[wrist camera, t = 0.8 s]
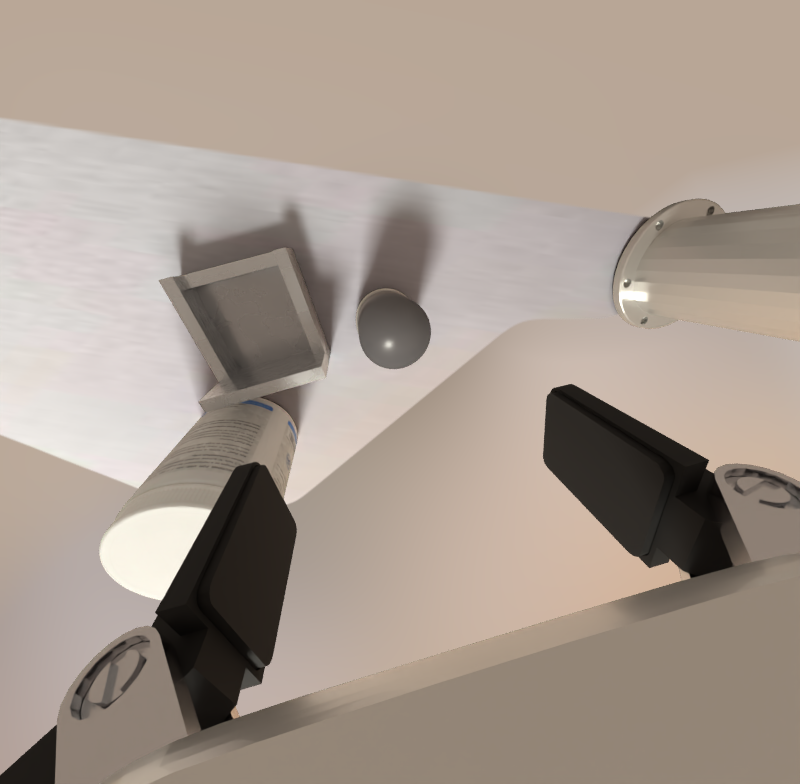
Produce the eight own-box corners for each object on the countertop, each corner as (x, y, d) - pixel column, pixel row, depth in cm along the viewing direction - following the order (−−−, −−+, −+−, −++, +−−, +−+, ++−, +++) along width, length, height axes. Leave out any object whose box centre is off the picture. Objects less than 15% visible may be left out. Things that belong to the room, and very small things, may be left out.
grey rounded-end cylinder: (406, 280, 27) (424, 286, 21) (418, 338, 29) (437, 359, 23) (347, 296, 27) (347, 307, 20) (365, 353, 29) (370, 378, 23)
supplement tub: (184, 434, 30) (54, 573, 16) (241, 373, 28) (148, 474, 15) (264, 480, 34) (211, 620, 20) (318, 429, 32) (298, 546, 19)
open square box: (292, 248, 24) (273, 244, 18) (330, 352, 28) (325, 378, 22) (181, 277, 24) (122, 284, 17) (236, 378, 28) (205, 412, 22)
